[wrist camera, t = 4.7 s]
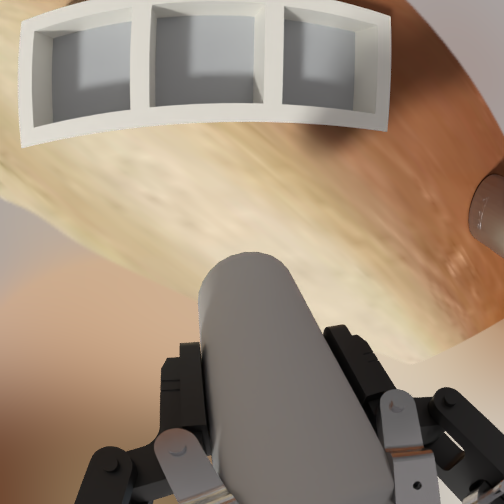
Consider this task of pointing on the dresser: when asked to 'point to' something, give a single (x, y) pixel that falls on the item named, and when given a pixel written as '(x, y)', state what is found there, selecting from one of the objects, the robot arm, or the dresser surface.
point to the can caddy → (201, 65)
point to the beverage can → (280, 395)
